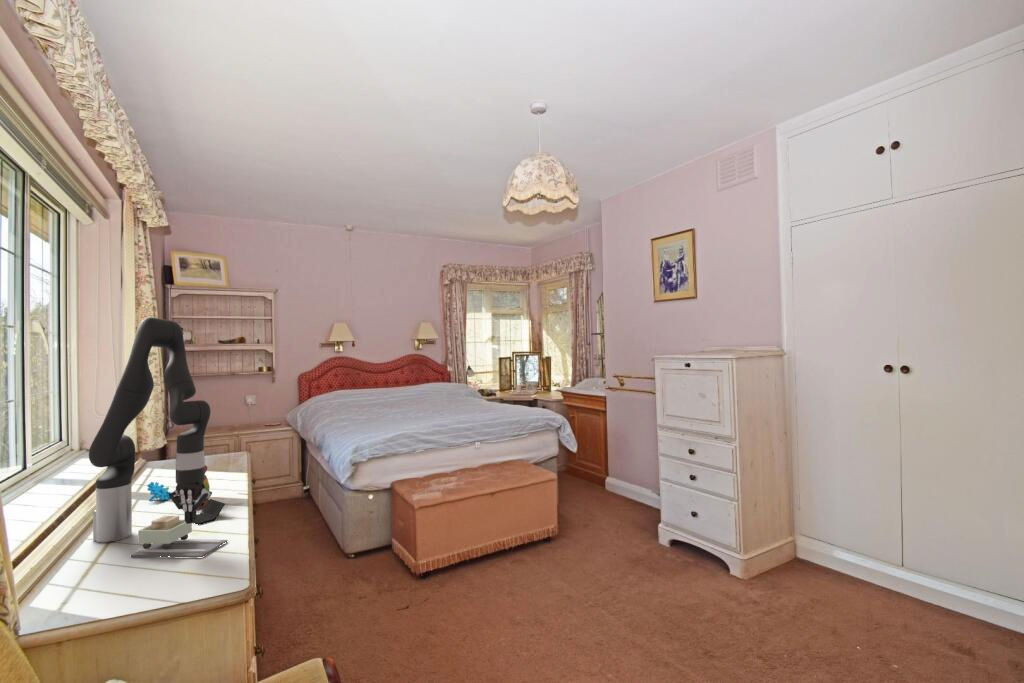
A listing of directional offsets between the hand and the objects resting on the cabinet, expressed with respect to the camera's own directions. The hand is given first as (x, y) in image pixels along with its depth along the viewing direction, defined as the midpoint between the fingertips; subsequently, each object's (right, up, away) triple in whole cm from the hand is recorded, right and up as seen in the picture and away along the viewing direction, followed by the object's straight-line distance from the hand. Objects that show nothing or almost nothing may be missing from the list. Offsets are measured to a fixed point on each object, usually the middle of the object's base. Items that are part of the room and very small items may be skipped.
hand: (190, 522), depth 152 cm
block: (-8, -4, +1) cm, 9 cm away
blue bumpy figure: (-47, -10, +52) cm, 71 cm away
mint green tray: (-8, -7, +1) cm, 11 cm away
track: (-3, -9, +1) cm, 9 cm away
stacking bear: (-25, -10, +43) cm, 51 cm away
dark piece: (-13, -9, +29) cm, 33 cm away
